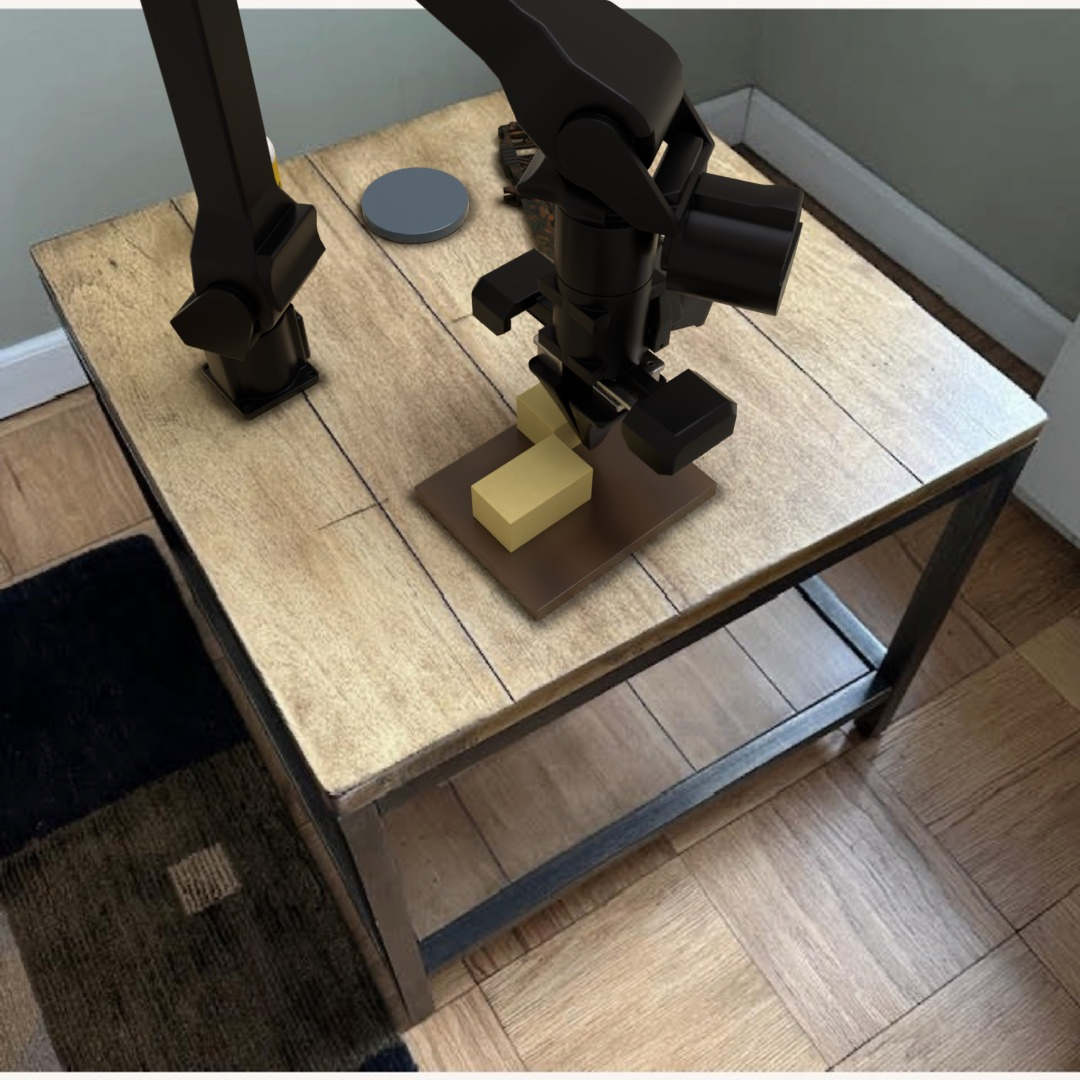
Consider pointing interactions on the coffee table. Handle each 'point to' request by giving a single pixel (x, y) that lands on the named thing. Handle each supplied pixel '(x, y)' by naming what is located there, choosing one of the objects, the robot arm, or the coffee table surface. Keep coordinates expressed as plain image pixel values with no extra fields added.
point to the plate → (415, 205)
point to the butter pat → (543, 417)
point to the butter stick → (531, 492)
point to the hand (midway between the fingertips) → (592, 444)
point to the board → (566, 517)
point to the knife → (513, 170)
